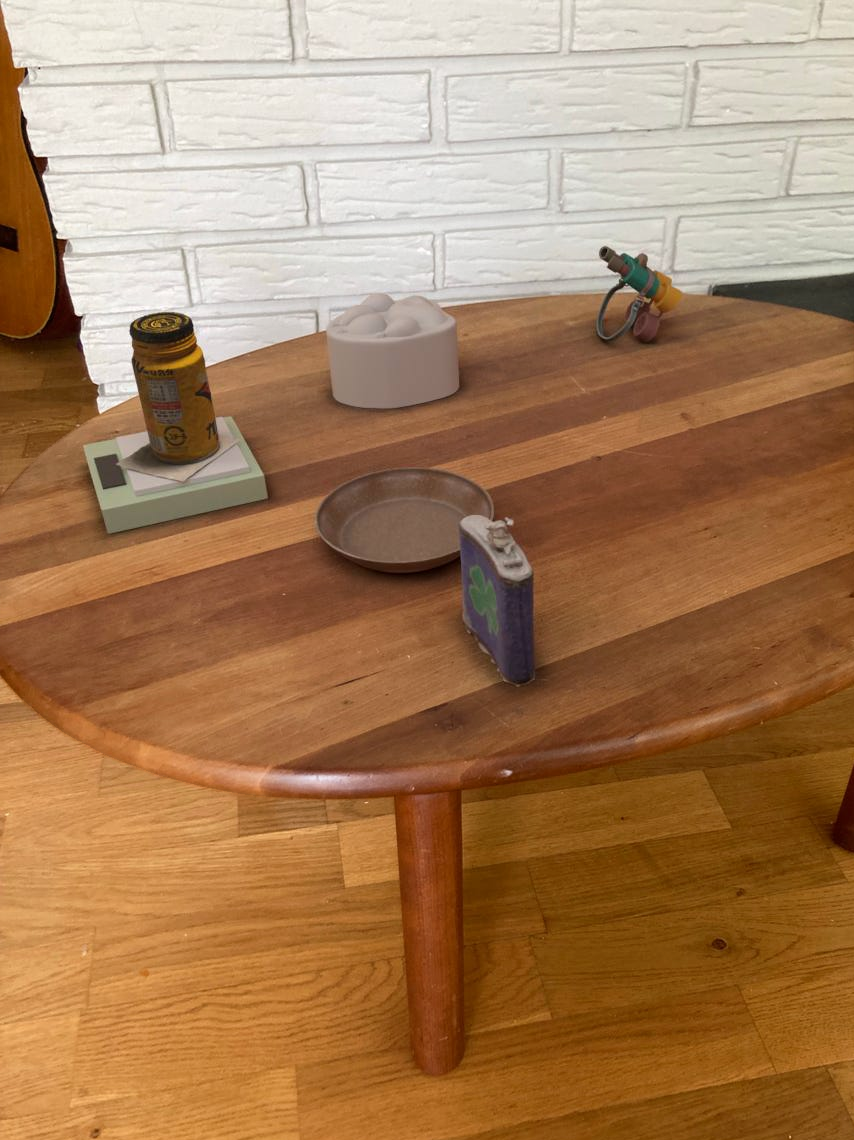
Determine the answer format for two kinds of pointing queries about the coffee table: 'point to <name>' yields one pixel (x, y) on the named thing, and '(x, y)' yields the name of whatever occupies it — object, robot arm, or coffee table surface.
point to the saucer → (400, 518)
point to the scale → (171, 482)
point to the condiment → (173, 398)
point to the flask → (498, 596)
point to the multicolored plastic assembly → (646, 285)
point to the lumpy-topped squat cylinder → (393, 353)
